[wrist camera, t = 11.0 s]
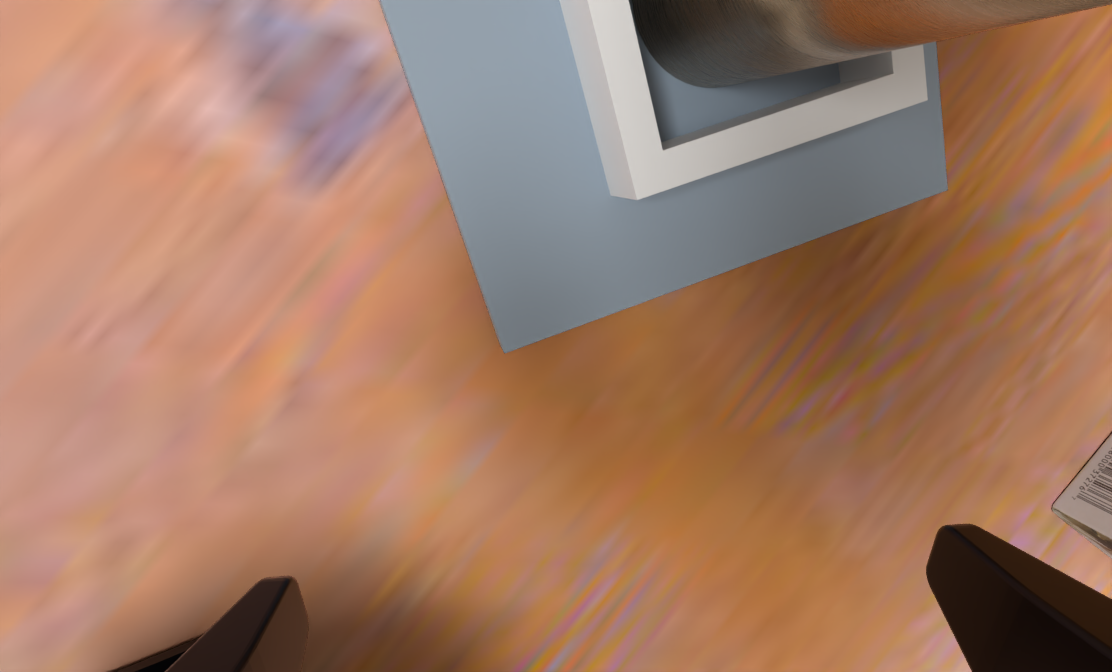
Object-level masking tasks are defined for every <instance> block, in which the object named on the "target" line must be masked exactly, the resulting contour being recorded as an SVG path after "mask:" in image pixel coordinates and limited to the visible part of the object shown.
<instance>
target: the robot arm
mask: <svg viewBox="0 0 1112 672" xmlns="http://www.w3.org/2000/svg"><path fill="white" fill-rule="evenodd" d="M926 575H927V580H928V583H929V585H930V588H931V590H932V592H933V594H934V596H935V598H936V600H937V602H938V604H939V606H940V608H941V610H942V612H943V614H944V616H945V618H946V620H947V622H948V624H949V626H950V628H951V630H952V632H953V634H954V636H955V638H956V640H957V642H958V644H959V646H960V648H961V650H962V652H963V654H964V656H965V658H966V660H967V662H968V665H969V667H970V669H971V671H972V672H1112V599H1110V598H1108V597H1107V596H1105V595H1103V594H1101V593H1099V592H1097V591H1096V590H1094V589H1092V588H1090V587H1088V586H1086V585H1085V584H1083V583H1081V582H1079V581H1077V580H1075V579H1074V578H1072V577H1070V576H1068V575H1066V574H1064V573H1063V572H1061V571H1059V570H1057V569H1055V568H1053V567H1051V566H1050V565H1048V564H1046V563H1044V562H1042V561H1040V560H1039V559H1037V558H1035V557H1033V556H1031V555H1029V554H1028V553H1026V552H1024V551H1022V550H1020V549H1018V548H1017V547H1015V546H1013V545H1011V544H1009V543H1007V542H1006V541H1004V540H1002V539H1000V538H998V537H996V536H995V535H993V534H991V533H989V532H987V531H985V530H983V529H982V528H980V527H978V526H976V525H973V524H955V525H945V526H942V527H941V528H940V529H939V530H938V532H937V534H936V537H935V541H934V544H933V547H932V550H931V553H930V556H929V559H928V563H927V566H926ZM308 629H309V622H308V616H307V612H306V609H305V606H304V602H303V599H302V596H301V592H300V589H299V586H298V583H297V581H296V579H295V578H294V577H292V576H280V577H267V578H264V579H262V580H260V581H258V582H257V583H256V584H255V585H254V586H253V587H252V588H251V589H250V590H249V591H248V592H247V593H246V594H245V595H244V596H243V597H242V598H241V599H240V600H239V601H238V602H236V603H235V604H234V605H233V606H232V607H231V608H230V609H229V610H228V611H227V612H226V613H225V614H224V615H223V616H222V617H221V618H220V619H219V620H218V621H217V622H216V623H215V624H214V625H213V626H212V627H211V628H210V629H209V630H208V631H207V632H205V633H204V634H203V635H202V636H201V637H200V638H197V639H195V640H193V641H190V642H188V643H185V644H183V645H180V646H178V647H175V648H173V649H170V650H168V651H165V652H163V653H160V654H158V655H156V656H153V657H151V658H148V659H146V660H143V661H141V662H138V663H136V664H133V665H131V666H128V667H126V668H124V669H121V670H119V671H116V672H301V669H302V664H303V659H304V653H305V648H306V643H307V638H308Z"/></svg>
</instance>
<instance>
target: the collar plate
mask: <svg viewBox="0 0 1112 672" xmlns="http://www.w3.org/2000/svg"><path fill="white" fill-rule="evenodd" d="M379 2H380V5H381V8H382V11H383V14H384V17H385V20H386V22H387V25H388V28H389V31H390V34H391V37H392V39H393V42H394V45H395V48H396V51H397V54H398V56H399V59H400V62H401V65H402V68H403V71H404V74H405V76H406V79H407V82H408V85H409V88H410V91H411V93H412V96H413V99H414V102H415V105H416V108H417V111H418V113H419V116H420V119H421V122H422V125H423V128H424V130H425V133H426V136H427V139H428V142H429V145H430V148H431V150H432V153H433V156H434V159H435V162H436V165H437V167H438V170H439V173H440V176H441V179H442V182H443V185H444V187H445V190H446V193H447V196H448V199H449V202H450V204H451V207H452V210H453V213H454V216H455V219H456V222H457V224H458V227H459V230H460V233H461V236H462V239H463V241H464V244H465V247H466V250H467V253H468V256H469V259H470V261H471V264H472V267H473V270H474V273H475V276H476V278H477V281H478V284H479V287H480V290H481V293H482V296H483V298H484V301H485V304H486V307H487V310H488V313H489V315H490V318H491V321H492V324H493V327H494V330H495V332H496V335H497V338H498V341H499V344H500V346H501V348H502V350H503V352H504V353H508V352H510V351H513V350H516V349H518V348H521V347H524V346H527V345H529V344H532V343H535V342H537V341H540V340H543V339H546V338H548V337H551V336H554V335H556V334H559V333H562V332H564V331H567V330H570V329H573V328H575V327H578V326H581V325H583V324H586V323H589V322H592V321H594V320H597V319H600V318H602V317H605V316H608V315H611V314H613V313H616V312H619V311H621V310H624V309H627V308H630V307H632V306H635V305H638V304H640V303H643V302H646V301H648V300H651V299H654V298H657V297H659V296H662V295H665V294H667V293H670V292H673V291H676V290H678V289H681V288H684V287H686V286H689V285H692V284H695V283H697V282H700V281H703V280H705V279H708V278H711V277H714V276H716V275H719V274H722V273H724V272H727V271H730V270H732V269H735V268H738V267H741V266H743V265H746V264H749V263H751V262H754V261H757V260H760V259H762V258H765V257H768V256H770V255H773V254H776V253H779V252H781V251H784V250H787V249H789V248H792V247H795V246H798V245H800V244H803V243H806V242H808V241H811V240H814V239H816V238H819V237H822V236H825V235H827V234H830V233H833V232H835V231H838V230H841V229H844V228H846V227H849V226H852V225H854V224H857V223H860V222H863V221H865V220H868V219H871V218H873V217H876V216H879V215H882V214H884V213H887V212H890V211H892V210H895V209H898V208H900V207H903V206H906V205H909V204H911V203H914V202H917V201H919V200H922V199H925V198H928V197H930V196H933V195H936V194H938V193H941V192H944V191H947V190H948V186H947V173H946V160H945V148H944V135H943V122H942V110H941V97H940V84H939V72H938V59H937V46H936V42H932V43H927V44H923V45H918V46H913V47H908V48H904V49H899V50H894V51H890V52H885V53H880V54H875V55H871V56H866V57H861V58H857V59H852V60H847V61H842V62H838V63H833V64H828V65H824V66H819V67H814V68H809V69H805V70H800V71H795V72H791V73H786V74H781V75H776V76H772V77H767V78H762V79H758V80H753V81H748V82H743V83H739V84H734V85H729V86H724V87H717V88H704V87H698V86H693V85H690V84H687V83H685V82H683V81H681V80H679V79H677V78H675V77H673V76H672V75H671V74H669V73H668V72H666V71H665V70H664V69H663V68H662V67H661V66H660V65H659V64H658V63H657V62H656V60H655V59H654V58H653V57H652V56H651V54H650V53H649V51H648V49H647V48H646V46H645V44H644V42H643V40H642V38H641V36H640V34H639V31H638V28H637V25H636V22H635V17H634V12H633V6H632V0H379Z"/></svg>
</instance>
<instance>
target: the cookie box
mask: <svg viewBox="0 0 1112 672" xmlns="http://www.w3.org/2000/svg"><path fill="white" fill-rule="evenodd" d="M1052 510H1053V512H1054V513H1055V514H1056V515H1057V516H1058V517H1060V518H1061V519H1062V520H1063V521H1065V522H1066V523H1067V524H1068V525H1070V526H1071V527H1072V528H1073V529H1075V530H1076V531H1077V532H1078V533H1080V534H1081V535H1082V536H1084V537H1085V538H1086V539H1087V540H1089V541H1090V542H1091V543H1092V544H1094V545H1095V546H1096V547H1097V548H1099V549H1100V550H1101V551H1102V552H1104V553H1105V554H1106V555H1107V556H1109V557H1110V558H1111V559H1112V433H1111V435H1110V436H1109V437H1108V438H1107V440H1106V441H1105V442H1104V443H1103V445H1102V446H1101V447H1100V448H1099V449H1098V451H1097V452H1096V453H1095V454H1094V456H1093V457H1092V458H1091V459H1090V460H1089V462H1088V463H1087V464H1086V465H1085V466H1084V468H1083V469H1082V470H1081V471H1080V472H1079V474H1078V475H1077V476H1076V477H1075V478H1074V480H1073V481H1072V482H1071V483H1070V485H1069V486H1068V487H1067V488H1066V489H1065V490H1064V492H1063V493H1062V494H1061V495H1060V496H1059V498H1058V499H1057V500H1056V501H1055V503H1054V504H1053V507H1052Z"/></svg>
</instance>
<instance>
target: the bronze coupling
mask: <svg viewBox="0 0 1112 672" xmlns="http://www.w3.org/2000/svg"><path fill="white" fill-rule="evenodd" d="M1111 4H1112V0H632V6H633V12H634V17H635V22H636V25H637V28H638V31H639V34H640V36H641V38H642V40H643V42H644V44H645V46H646V48H647V49H648V51H649V53H650V54H651V56H652V57H653V58H654V59H655V60H656V62H657V63H658V64H659V65H660V66H661V67H662V68H663V69H664V70H665V71H666V72H668V73H669V74H671V75H672V76H673V77H675V78H677V79H679V80H681V81H683V82H685V83H687V84H690V85H693V86H698V87H704V88H717V87H724V86H729V85H734V84H739V83H743V82H748V81H753V80H758V79H762V78H767V77H772V76H776V75H781V74H786V73H791V72H795V71H800V70H805V69H809V68H814V67H819V66H824V65H828V64H833V63H838V62H842V61H847V60H852V59H857V58H861V57H866V56H871V55H875V54H880V53H885V52H890V51H894V50H899V49H904V48H908V47H913V46H918V45H923V44H927V43H932V42H937V41H941V40H946V39H951V38H956V37H960V36H965V35H970V34H974V33H979V32H984V31H988V30H993V29H998V28H1003V27H1007V26H1012V25H1017V24H1021V23H1026V22H1031V21H1036V20H1040V19H1045V18H1050V17H1054V16H1059V15H1064V14H1069V13H1073V12H1078V11H1083V10H1087V9H1092V8H1097V7H1102V6H1106V5H1111Z"/></svg>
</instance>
